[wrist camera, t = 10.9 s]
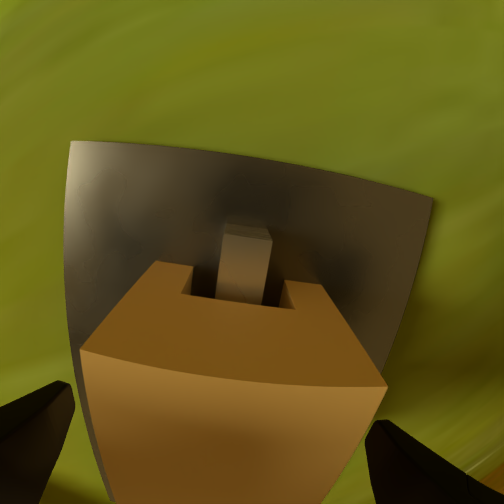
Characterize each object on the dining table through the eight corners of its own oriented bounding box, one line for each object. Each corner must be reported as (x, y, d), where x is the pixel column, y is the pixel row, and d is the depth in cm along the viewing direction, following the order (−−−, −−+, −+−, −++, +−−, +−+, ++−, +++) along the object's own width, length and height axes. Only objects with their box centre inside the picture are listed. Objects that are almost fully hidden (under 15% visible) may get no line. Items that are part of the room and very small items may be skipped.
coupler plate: (296, 513, 15) (300, 541, 12) (113, 491, 14) (104, 518, 12) (421, 195, 10) (461, 203, 8) (82, 142, 9) (43, 137, 7)
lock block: (277, 436, 11) (291, 541, 6) (152, 421, 11) (124, 523, 6) (321, 284, 10) (388, 386, 5) (155, 260, 9) (79, 349, 4)
